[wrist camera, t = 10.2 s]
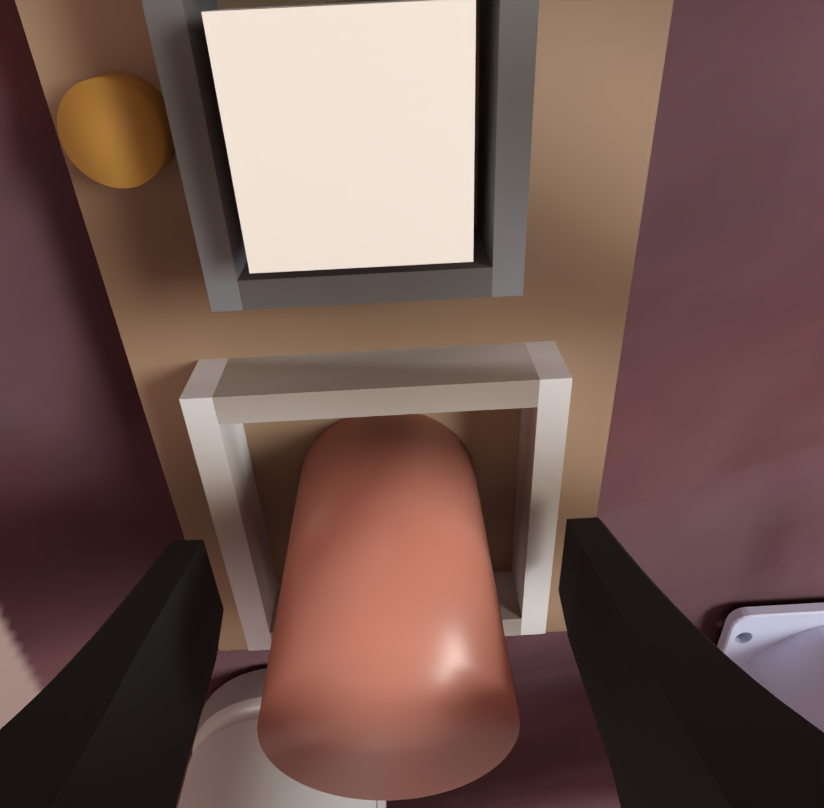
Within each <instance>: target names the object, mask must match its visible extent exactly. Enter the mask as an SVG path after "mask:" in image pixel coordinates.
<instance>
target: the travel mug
mask: <svg viewBox="0 0 824 808" xmlns="http://www.w3.org/2000/svg"><path fill="white" fill-rule="evenodd" d="M266 671H267V668H263V669H258V670H254V671H251V672H248V673H245V674H242V675H239V676H237V677H235V678H233V679H231V680H229V681H227V682H226V683H225V684H223V685H222V686H221V687H219V688H218V689H217V690H216V691H215V692H214V693H213V694H212V695H211V696H210V697H209V699H208V700H207V701H206V703H205V705H204V708H203V710H202V713H201V717H200V721H199V724H198V728H197V732H196V736H195V740H194V744H193V754H192V756H191V759H190V761H189V764H188V768H187V772H186V776H185V780H184V784H183V788H182V792H181V796H180V800H179V804H178V808H386V801H377V800H361V799H353V798H346V797H341V796H336V795H332V794H328V793H325V792H321V791H318V790H315V789H313V788H310V787H308V786H305V785H303V784H301V783H299V782H297V781H295V780H293V779H291V778H290V777H288V776H287V775H285V774H284V773H282V772H281V771H280V770H279V769H278V768H277V767H275V766H274V765H273V764H272V763H271V761H270V760H269V759H268V758H267V757H266V755H265V753H264V752H263V750H262V748H261V746H260V743H259V740H258V735H257V724H258V717H259V712H260V706H261V700H262V694H263V688H264V683H265V677H266Z"/></svg>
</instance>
